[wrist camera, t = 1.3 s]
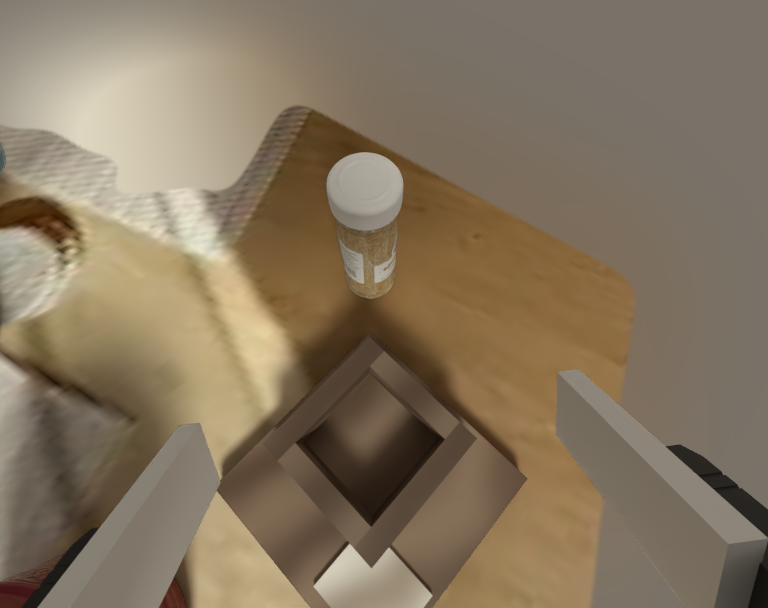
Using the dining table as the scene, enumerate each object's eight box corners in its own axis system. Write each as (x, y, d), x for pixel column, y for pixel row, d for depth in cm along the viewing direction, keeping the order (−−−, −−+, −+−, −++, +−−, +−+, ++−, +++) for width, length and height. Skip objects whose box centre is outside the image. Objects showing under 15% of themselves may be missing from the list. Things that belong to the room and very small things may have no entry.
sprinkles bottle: (399, 294, 33) (412, 205, 21) (350, 304, 33) (331, 219, 20) (388, 251, 35) (394, 142, 22) (341, 259, 34) (319, 155, 22)
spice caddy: (222, 484, 28) (190, 493, 23) (370, 336, 32) (369, 318, 27) (374, 672, 24) (373, 728, 19) (520, 476, 28) (548, 483, 23)
